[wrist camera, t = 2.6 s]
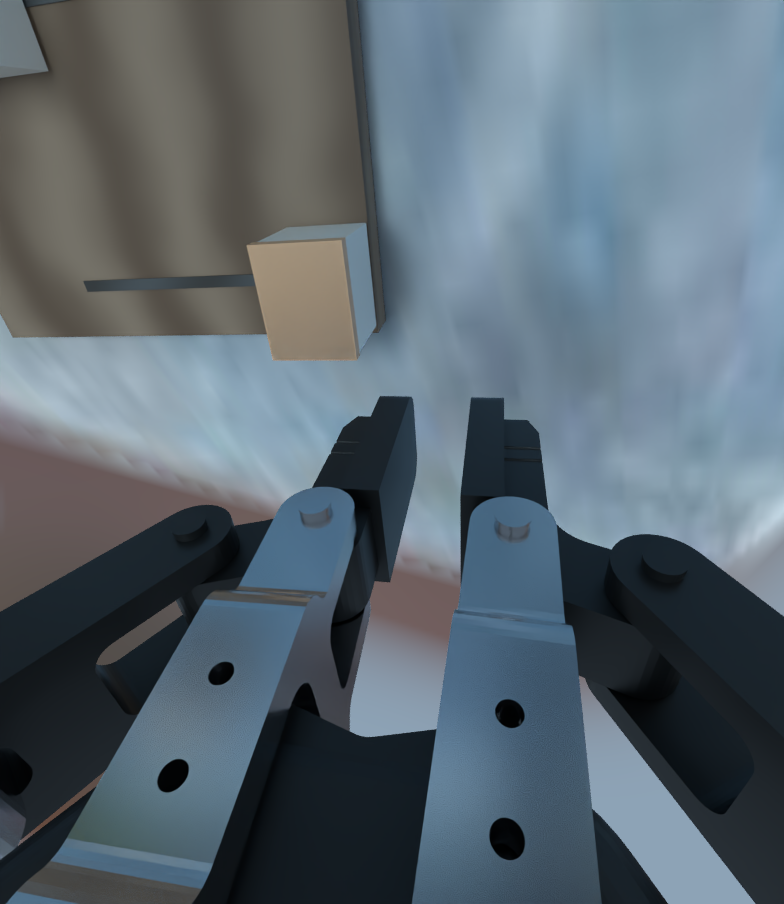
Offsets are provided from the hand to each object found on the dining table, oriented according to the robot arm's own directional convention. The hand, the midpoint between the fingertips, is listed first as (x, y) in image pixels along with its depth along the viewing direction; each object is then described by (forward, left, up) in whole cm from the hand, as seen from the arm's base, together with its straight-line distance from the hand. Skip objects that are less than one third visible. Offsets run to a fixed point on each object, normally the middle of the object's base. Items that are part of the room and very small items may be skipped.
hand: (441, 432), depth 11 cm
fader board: (+17, -6, -17) cm, 25 cm away
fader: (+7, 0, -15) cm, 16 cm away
